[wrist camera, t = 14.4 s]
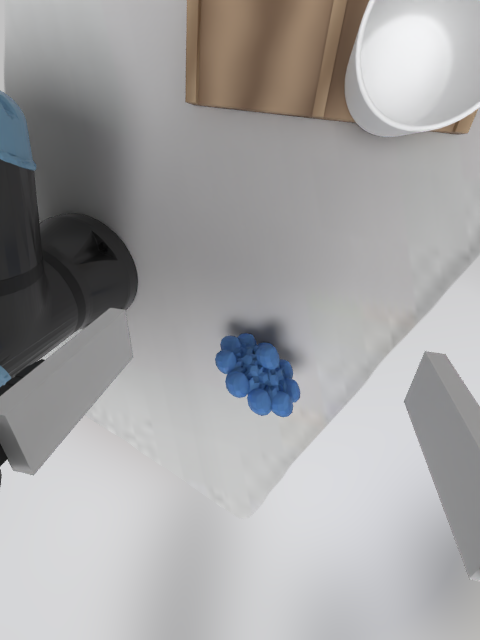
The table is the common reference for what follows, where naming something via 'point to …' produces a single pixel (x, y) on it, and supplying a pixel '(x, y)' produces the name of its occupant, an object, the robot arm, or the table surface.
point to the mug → (414, 66)
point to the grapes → (258, 375)
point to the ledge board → (276, 56)
